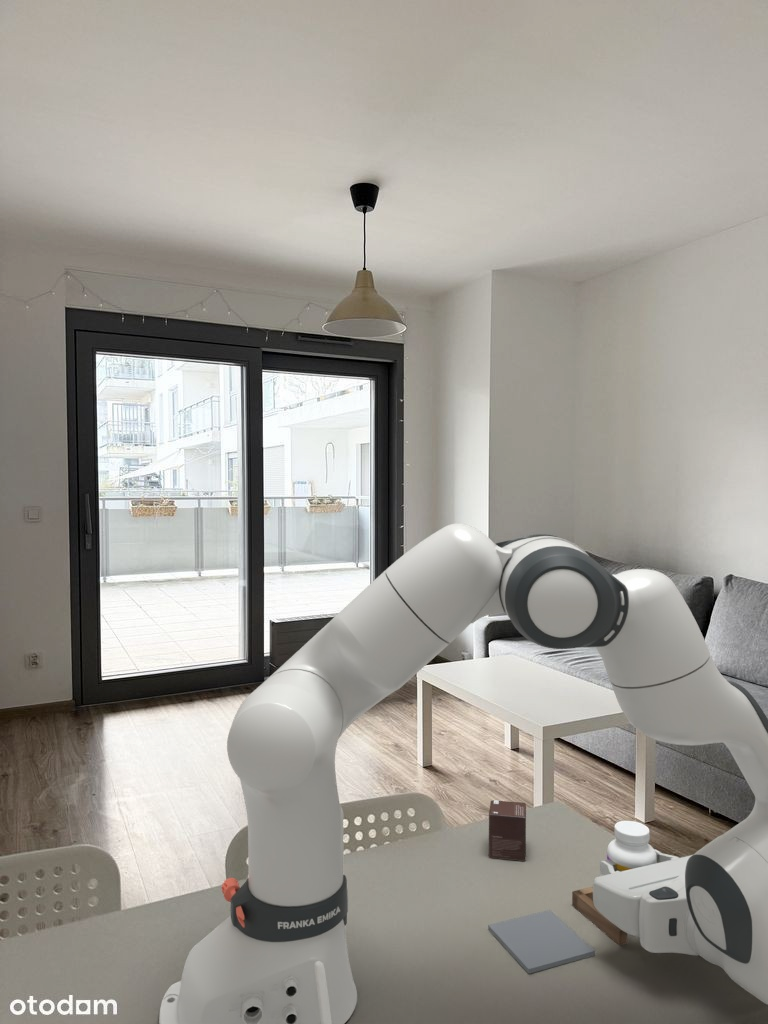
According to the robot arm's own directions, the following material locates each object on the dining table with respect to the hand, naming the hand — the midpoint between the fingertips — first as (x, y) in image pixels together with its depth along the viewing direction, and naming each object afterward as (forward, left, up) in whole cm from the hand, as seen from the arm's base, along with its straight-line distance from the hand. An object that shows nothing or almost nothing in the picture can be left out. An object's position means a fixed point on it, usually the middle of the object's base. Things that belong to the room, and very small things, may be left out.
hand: (627, 860), depth 103 cm
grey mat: (-15, -1, -8) cm, 17 cm away
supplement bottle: (0, -1, -8) cm, 8 cm away
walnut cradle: (0, -1, -8) cm, 8 cm away
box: (-6, +22, -8) cm, 24 cm away
